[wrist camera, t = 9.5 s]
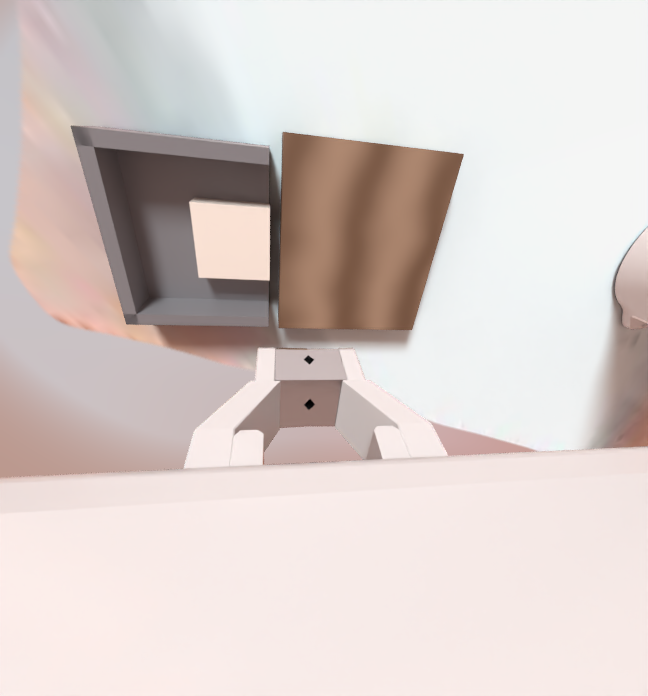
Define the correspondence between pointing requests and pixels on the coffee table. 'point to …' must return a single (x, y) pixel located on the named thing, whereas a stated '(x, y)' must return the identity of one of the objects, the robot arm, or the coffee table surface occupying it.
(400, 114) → the coffee table surface
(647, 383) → the coffee table surface
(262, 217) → the tile
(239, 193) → the box
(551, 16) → the coffee table surface
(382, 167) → the board
